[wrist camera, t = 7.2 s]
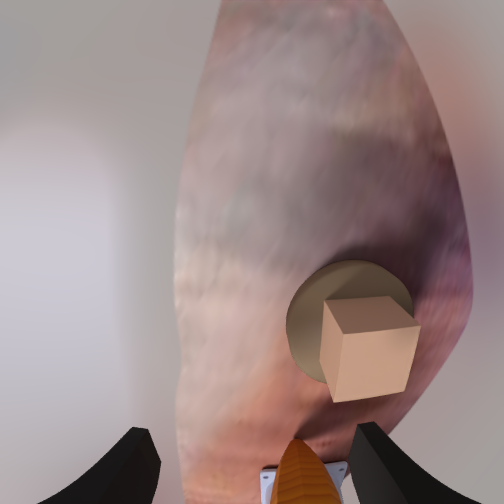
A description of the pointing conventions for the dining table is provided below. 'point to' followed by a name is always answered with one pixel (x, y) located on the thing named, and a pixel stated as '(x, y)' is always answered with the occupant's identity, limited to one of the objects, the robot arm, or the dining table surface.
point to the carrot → (302, 478)
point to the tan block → (366, 347)
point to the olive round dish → (333, 288)
